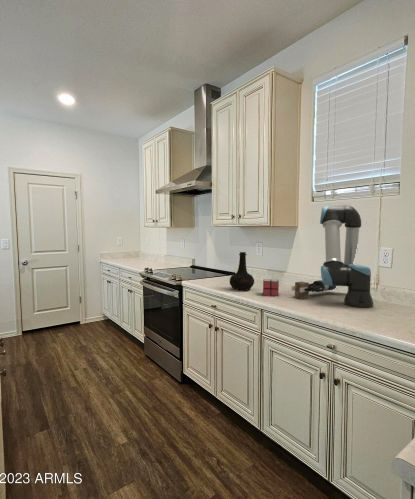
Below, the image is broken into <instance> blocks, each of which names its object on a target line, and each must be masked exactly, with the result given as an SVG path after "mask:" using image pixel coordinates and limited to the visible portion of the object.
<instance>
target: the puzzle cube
mask: <svg viewBox="0 0 415 499" xmlns="http://www.w3.org/2000/svg"><path fill="white" fill-rule="evenodd" d="M262 282H263V283H262V284H263V285H262V290H263V291H262V295H263V297H279V279H277V278H276V279H275V278H263V280H262Z"/></svg>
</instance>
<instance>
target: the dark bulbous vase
mask: <svg viewBox="0 0 415 499" xmlns="http://www.w3.org/2000/svg"><path fill="white" fill-rule="evenodd" d="M246 253H247V252H246V251H239V254H238V256H239V263H238V267H237V271H236V273H233V274H231V276H230V277H229V285H230V286H231V288H232V289H233V290H236V291H240V292H241V291H243V292H246V291H249V290H251V289H252V288H253V286H254V284H255V278H254V277H253V276H254V275H252V274H250V273H248V271H247V270H248V269H247V258H246V256H247V254H246Z"/></svg>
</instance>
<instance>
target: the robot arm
mask: <svg viewBox="0 0 415 499" xmlns="http://www.w3.org/2000/svg"><path fill="white" fill-rule="evenodd" d="M319 224H320V225H322V227H323V228H324V236H325V237H324V241H325V242H324V243H325V245H324V246H325V261H324V262H323V263H322V265H321V266H320V275H321V276H320V278H321V279H320V280H315V281H313V282H312V283H309V286H308V287H304V288H300V292H307V291H309V293H310V292H311V293H314V292H315V293H320V292H322V293H324V292H325V291H333V289H334V290H336V289H337V288H336V286H338V287H347V293H346V294H345V297H344V304H345V305H346V306H349V307H354V308H366V309H367V308H368V309H369V308H373V307H374V300H373V298H372V294H371V280H372V272H371V270H372V269H371V268H370V267H368V266H365V265H361V264H356V265H354V264H353V261H354V258H355V254H356V249H357V250H358V248H357V244H358V245H359V234H360V228H361V227H362V218H361V215H360V214H359V212H358V210H357V209H355V207H353V206H351V205H348V204H347V205H346V204H345V205H326V206H322V208H321V213H320V221H319ZM343 224H344V227H345V240H344V241H345V242H344V243H345V244H344V256H343V258H344V259H343V261H342V260H341V259H342V257H341V254H342V253H341V234H340V233H341V232H340V228H341V227H342V225H343ZM335 288H336V289H335ZM291 291H292V292H293V291H294V292H295V285H293V286H291Z"/></svg>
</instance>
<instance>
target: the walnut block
mask: <svg viewBox="0 0 415 499" xmlns="http://www.w3.org/2000/svg"><path fill="white" fill-rule="evenodd" d="M294 283H295V284H294V286H295V290H294V298H295V299H299V300H305V299H309V298H310V297H309V293H310V292H309V291H307V292H300V288H304V287H308V286H309V284H310V283H309V282H307V281H295V282H294Z"/></svg>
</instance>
